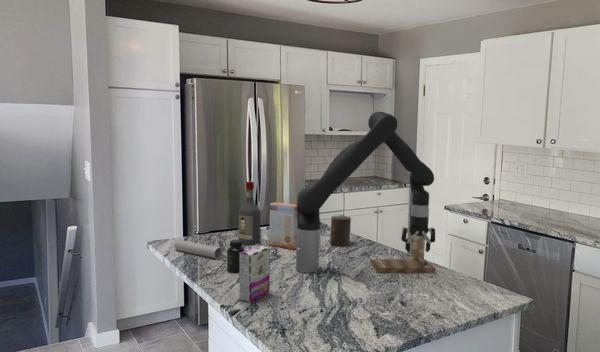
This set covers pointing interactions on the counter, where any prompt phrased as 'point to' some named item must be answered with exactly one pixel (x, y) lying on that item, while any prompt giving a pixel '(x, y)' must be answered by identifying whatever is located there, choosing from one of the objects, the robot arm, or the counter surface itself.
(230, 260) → the supplement bottle
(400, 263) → the walnut board
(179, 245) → the tube
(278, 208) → the cracker box
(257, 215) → the liquor
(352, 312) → the counter surface
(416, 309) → the counter surface
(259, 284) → the candy bar box
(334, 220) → the pillar candle
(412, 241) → the marking gauge
